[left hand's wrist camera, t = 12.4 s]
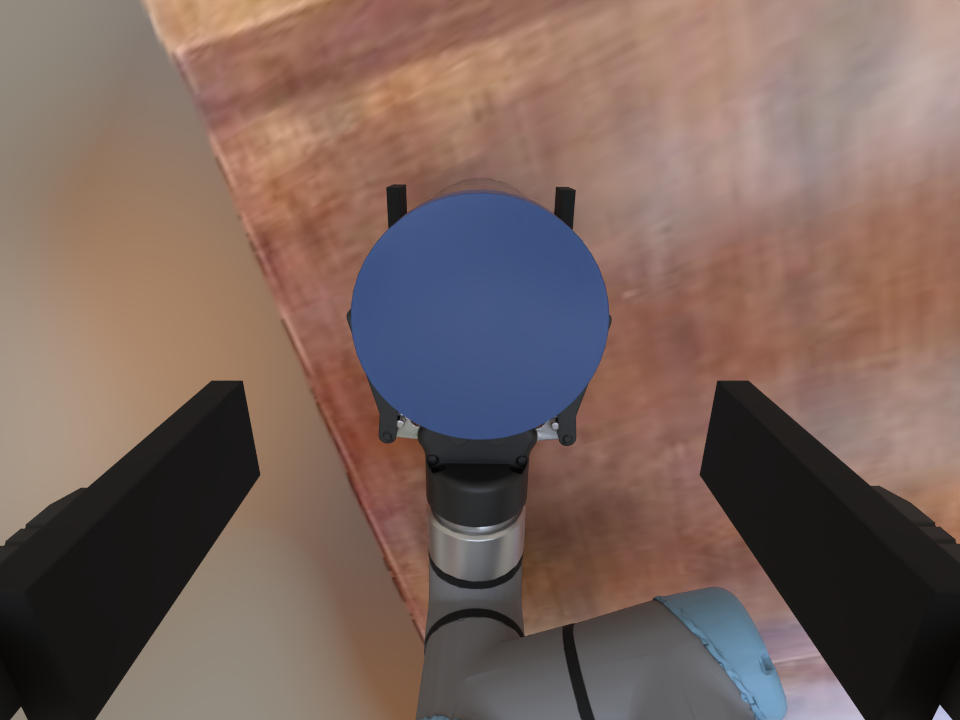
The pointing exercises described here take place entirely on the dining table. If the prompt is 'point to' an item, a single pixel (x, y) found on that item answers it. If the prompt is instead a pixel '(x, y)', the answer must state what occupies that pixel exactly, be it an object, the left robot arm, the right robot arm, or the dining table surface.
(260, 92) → the dining table surface
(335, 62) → the dining table surface
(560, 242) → the lid
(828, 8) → the dining table surface
